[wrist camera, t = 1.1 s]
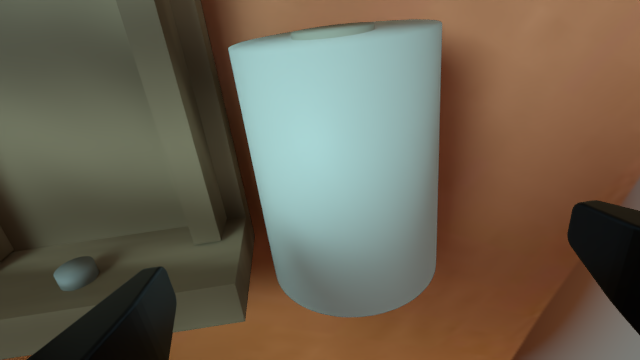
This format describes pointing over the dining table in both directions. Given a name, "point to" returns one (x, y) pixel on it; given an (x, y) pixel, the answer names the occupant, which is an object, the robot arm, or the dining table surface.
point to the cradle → (114, 166)
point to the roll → (346, 159)
